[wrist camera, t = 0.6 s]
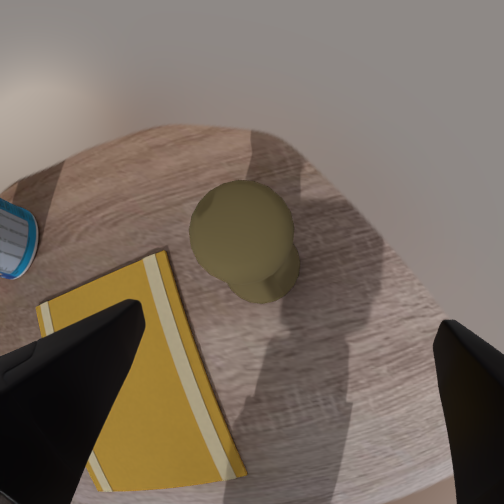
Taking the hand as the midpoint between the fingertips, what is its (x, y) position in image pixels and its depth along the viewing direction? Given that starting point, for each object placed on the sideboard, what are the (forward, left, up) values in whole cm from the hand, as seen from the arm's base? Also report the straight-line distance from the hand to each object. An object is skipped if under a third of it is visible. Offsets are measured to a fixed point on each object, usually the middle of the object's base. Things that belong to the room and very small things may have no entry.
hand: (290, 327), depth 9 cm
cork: (+5, +1, -16) cm, 16 cm away
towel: (-1, +16, -15) cm, 22 cm away
